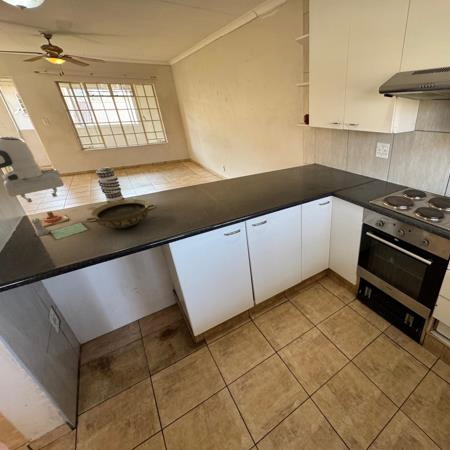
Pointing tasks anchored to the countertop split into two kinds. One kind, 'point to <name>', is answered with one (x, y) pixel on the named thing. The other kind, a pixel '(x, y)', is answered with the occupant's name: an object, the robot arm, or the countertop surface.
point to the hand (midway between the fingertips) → (43, 199)
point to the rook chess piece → (39, 227)
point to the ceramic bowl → (121, 213)
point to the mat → (68, 231)
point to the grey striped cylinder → (109, 184)
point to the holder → (52, 218)
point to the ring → (47, 219)
